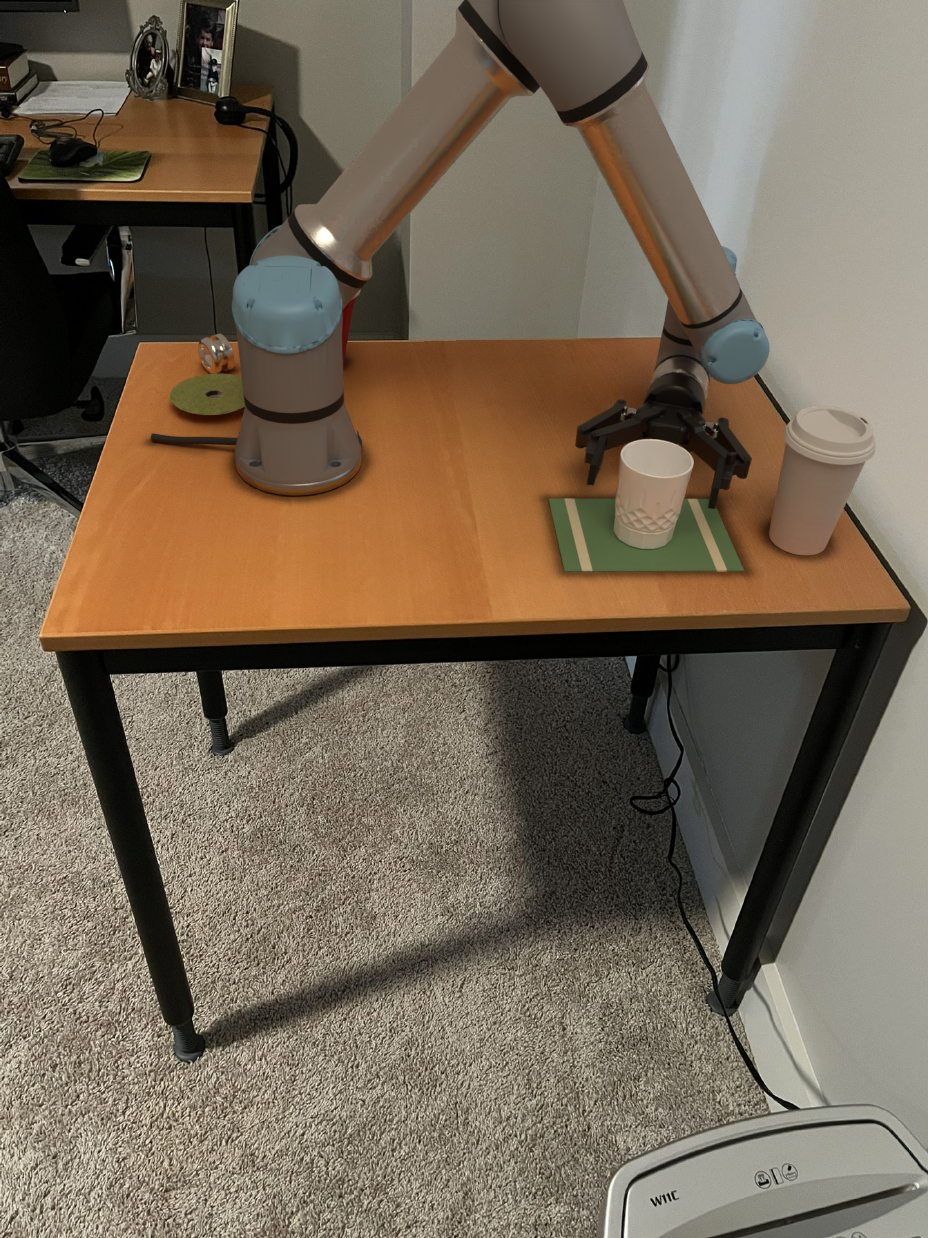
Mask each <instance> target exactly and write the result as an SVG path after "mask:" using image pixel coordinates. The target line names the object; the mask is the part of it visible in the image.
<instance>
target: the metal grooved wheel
mask: <svg viewBox="0 0 928 1238" xmlns="http://www.w3.org/2000/svg"><path fill="white" fill-rule="evenodd" d="M197 351H198V357H199V359H200V362H201V364H202V366H203V367H204V369H205V370H206V371H207V372H208V373H209V374H214V373H217V374H220V373H221V371H222V372H227V371H229V370H230V371H231V370H232V369H233V368H234V367H235V355H234V352H233V348H232V346H231V344H230V342H229V340H228V339H227V338H226V337H225V335H223V334H222V333H215V334H213V335H211V336H210V337H208V336H206V337H203V338H201V339H200V340H199V341H198V346H197Z"/></svg>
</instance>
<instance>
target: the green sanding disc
mask: <svg viewBox="0 0 928 1238" xmlns="http://www.w3.org/2000/svg"><path fill="white" fill-rule="evenodd" d="M169 400H170V402H171V404H172V405H173V406H175V408H177V409H179V410H181V411H184V412H187V413H189V414H196V415H198V416H199V415H201V416H202V415H203V416H215V415H226V414H230V413H232V412H237V411H238V410H241V409H243V408H245V402H244V393H243V385H242V376H241V375H235V374H230V373H228V374H227V373H222V372H220V373H214V374H212V373H207V374H201V375H195V376H193V377H188V378H187V379H184V380H182V381H180V382H179V383H177V384H176V385H175V386H173V388H172V389H171V390H170V393H169Z"/></svg>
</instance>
